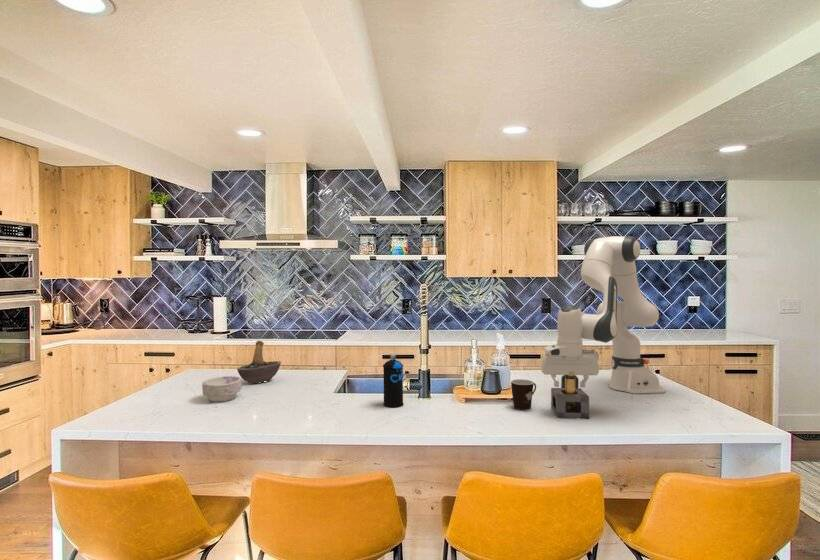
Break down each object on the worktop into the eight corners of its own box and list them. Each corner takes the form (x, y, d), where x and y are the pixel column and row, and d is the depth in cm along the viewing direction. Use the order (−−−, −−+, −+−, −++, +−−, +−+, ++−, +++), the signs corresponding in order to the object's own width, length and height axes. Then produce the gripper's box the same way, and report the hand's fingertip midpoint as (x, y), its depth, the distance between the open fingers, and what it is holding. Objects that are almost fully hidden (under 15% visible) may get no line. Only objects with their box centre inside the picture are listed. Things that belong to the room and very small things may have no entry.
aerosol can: (378, 404, 178) (378, 355, 177) (393, 400, 184) (393, 352, 183) (393, 409, 172) (393, 357, 172) (407, 404, 178) (407, 354, 178)
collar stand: (580, 409, 171) (580, 388, 171) (589, 418, 160) (589, 396, 160) (551, 408, 172) (551, 387, 172) (557, 417, 161) (557, 395, 161)
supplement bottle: (579, 401, 181) (579, 371, 181) (562, 400, 183) (562, 371, 182) (576, 396, 188) (577, 368, 188) (560, 395, 190) (560, 367, 189)
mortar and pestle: (282, 379, 221) (282, 338, 220) (264, 387, 204) (263, 344, 204) (255, 377, 224) (255, 337, 223) (235, 386, 208) (234, 343, 207)
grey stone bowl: (194, 402, 182) (193, 383, 182) (219, 392, 197) (219, 374, 197) (225, 405, 178) (225, 385, 178) (249, 395, 193) (248, 376, 193)
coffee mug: (516, 411, 168) (516, 385, 168) (507, 404, 177) (507, 379, 177) (544, 410, 170) (544, 384, 170) (535, 403, 179) (535, 378, 179)
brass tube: (573, 411, 168) (574, 369, 167) (576, 415, 164) (576, 372, 163) (563, 411, 168) (564, 369, 168) (565, 414, 164) (566, 371, 164)
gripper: (596, 348, 168) (595, 384, 168) (540, 347, 170) (540, 383, 170) (601, 351, 161) (601, 389, 162) (543, 350, 163) (543, 388, 164)
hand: (569, 386), depth 166 cm, fingers open, 8 cm apart
